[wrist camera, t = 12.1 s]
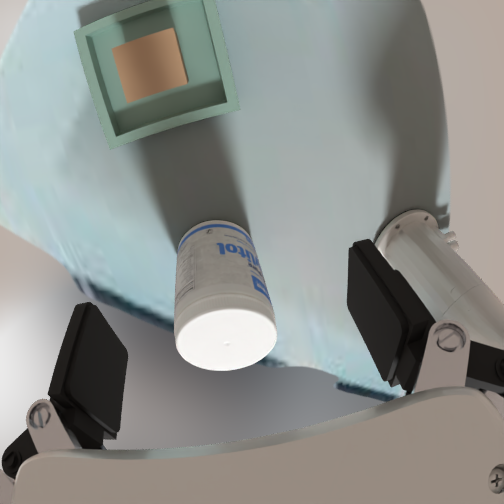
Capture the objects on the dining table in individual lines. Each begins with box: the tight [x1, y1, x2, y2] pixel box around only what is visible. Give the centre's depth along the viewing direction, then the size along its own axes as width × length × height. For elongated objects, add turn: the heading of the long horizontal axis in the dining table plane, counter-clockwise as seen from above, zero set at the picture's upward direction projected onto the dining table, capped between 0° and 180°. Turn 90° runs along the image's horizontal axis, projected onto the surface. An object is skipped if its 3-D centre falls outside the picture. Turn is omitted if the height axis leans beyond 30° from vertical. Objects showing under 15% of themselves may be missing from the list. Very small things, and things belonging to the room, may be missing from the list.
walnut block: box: [112, 28, 189, 103], centre depth 22 cm, size 5×5×6 cm
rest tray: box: [74, 0, 240, 150], centre depth 23 cm, size 13×13×3 cm
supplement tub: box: [174, 220, 277, 371], centre depth 32 cm, size 10×10×15 cm
